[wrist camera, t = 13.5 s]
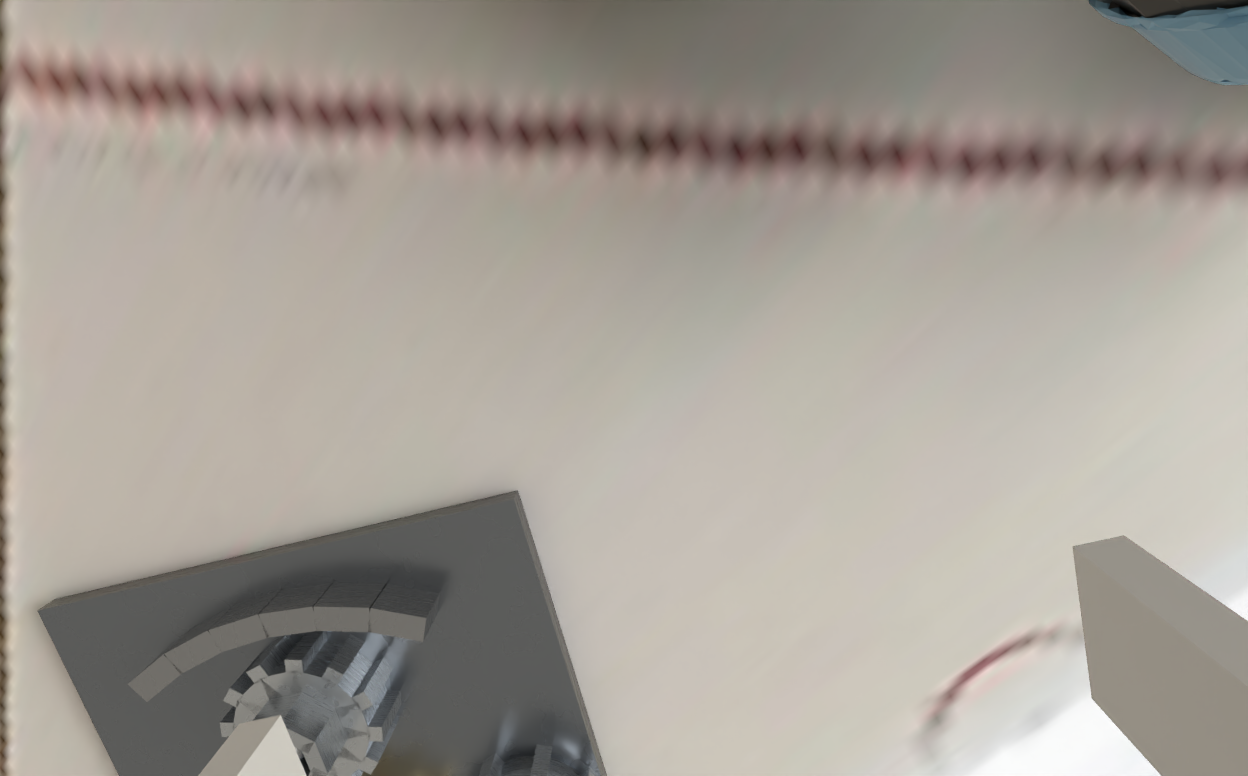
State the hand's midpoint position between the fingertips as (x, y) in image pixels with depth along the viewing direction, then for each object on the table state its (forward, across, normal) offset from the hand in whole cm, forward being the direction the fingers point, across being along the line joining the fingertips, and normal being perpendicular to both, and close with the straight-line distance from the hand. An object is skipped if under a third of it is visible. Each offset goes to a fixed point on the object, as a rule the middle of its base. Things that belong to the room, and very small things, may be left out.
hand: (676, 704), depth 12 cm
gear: (+26, -23, -14) cm, 37 cm away
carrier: (+27, -23, -18) cm, 40 cm away
